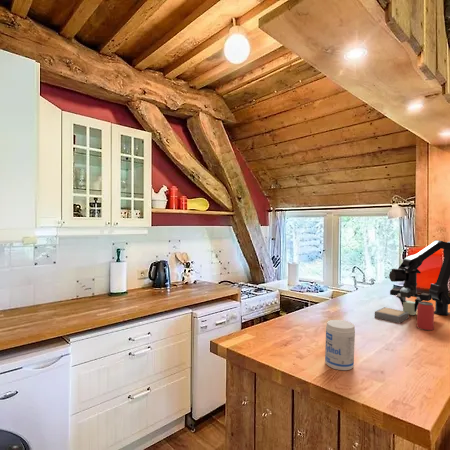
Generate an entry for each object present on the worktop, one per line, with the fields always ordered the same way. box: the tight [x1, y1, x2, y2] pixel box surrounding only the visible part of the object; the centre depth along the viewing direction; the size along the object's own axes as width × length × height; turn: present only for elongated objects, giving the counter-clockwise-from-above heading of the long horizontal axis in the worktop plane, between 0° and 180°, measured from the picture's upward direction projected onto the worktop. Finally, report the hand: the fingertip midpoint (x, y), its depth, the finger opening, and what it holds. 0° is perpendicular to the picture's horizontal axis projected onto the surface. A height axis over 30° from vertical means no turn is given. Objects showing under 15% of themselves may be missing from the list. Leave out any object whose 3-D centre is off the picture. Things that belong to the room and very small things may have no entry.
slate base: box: [374, 307, 409, 324], centre depth 168 cm, size 12×12×3 cm
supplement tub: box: [324, 319, 356, 371], centre depth 114 cm, size 10×10×15 cm
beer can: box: [416, 300, 435, 331], centre depth 152 cm, size 7×7×12 cm
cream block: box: [402, 300, 417, 316], centre depth 175 cm, size 5×5×6 cm
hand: (409, 310), depth 175 cm, fingers closed on cream block, 5 cm apart
